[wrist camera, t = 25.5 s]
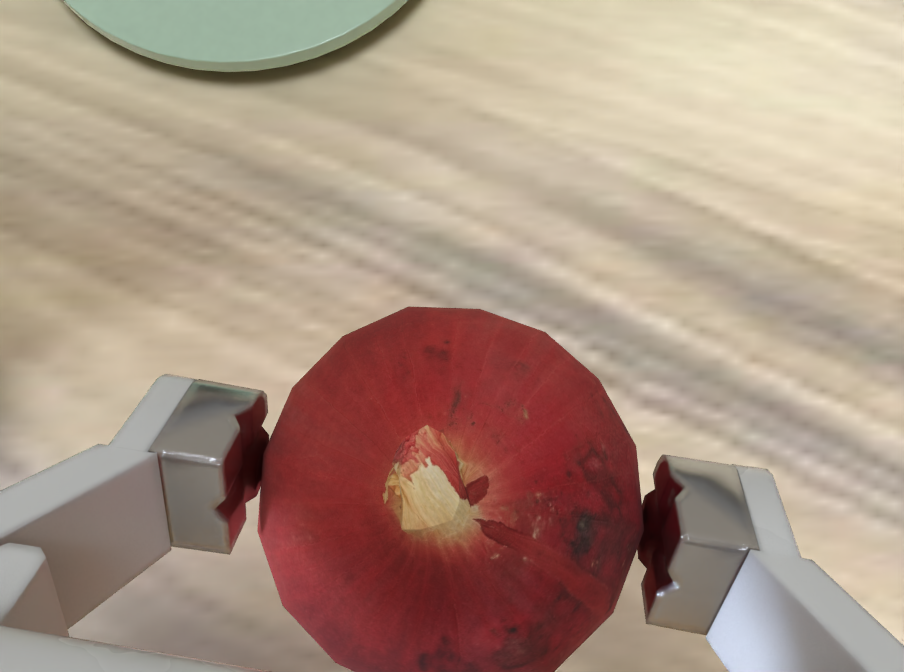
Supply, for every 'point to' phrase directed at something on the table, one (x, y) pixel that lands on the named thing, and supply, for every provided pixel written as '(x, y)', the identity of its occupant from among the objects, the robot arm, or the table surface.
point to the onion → (449, 497)
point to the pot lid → (233, 29)
